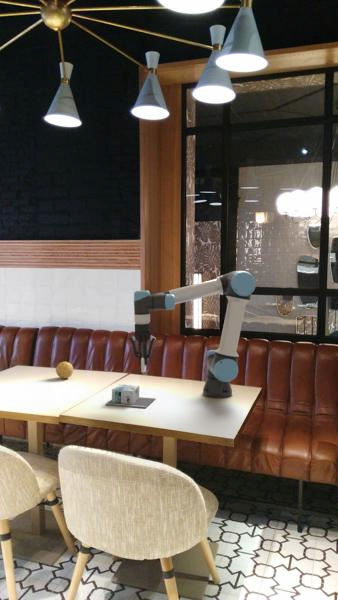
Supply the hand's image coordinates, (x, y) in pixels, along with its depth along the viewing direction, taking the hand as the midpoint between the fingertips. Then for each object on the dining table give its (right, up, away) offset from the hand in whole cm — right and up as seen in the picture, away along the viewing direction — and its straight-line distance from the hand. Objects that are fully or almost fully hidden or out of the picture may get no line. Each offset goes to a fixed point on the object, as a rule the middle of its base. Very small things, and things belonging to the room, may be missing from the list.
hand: (143, 371), depth 229 cm
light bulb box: (-3, -11, +1) cm, 12 cm away
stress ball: (-49, -12, +51) cm, 72 cm away
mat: (-6, -15, +2) cm, 17 cm away
